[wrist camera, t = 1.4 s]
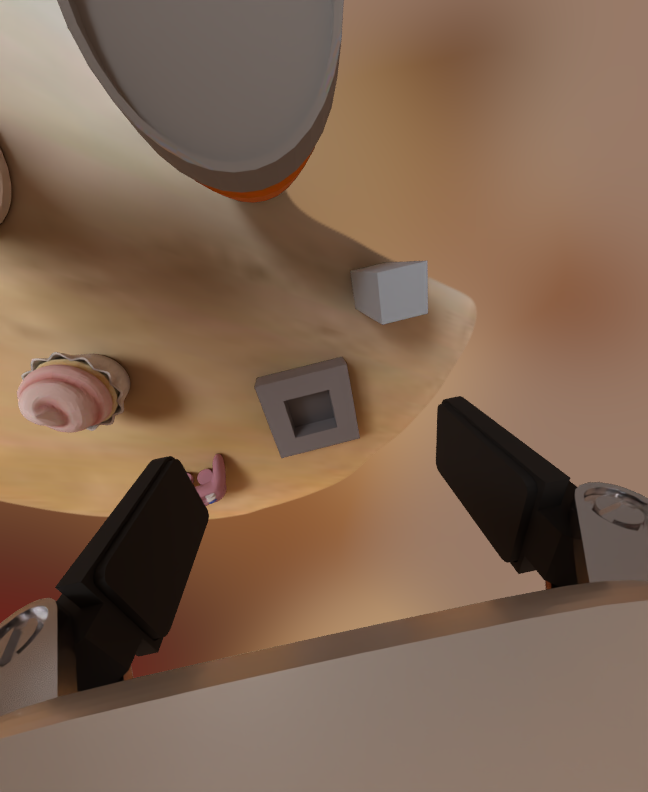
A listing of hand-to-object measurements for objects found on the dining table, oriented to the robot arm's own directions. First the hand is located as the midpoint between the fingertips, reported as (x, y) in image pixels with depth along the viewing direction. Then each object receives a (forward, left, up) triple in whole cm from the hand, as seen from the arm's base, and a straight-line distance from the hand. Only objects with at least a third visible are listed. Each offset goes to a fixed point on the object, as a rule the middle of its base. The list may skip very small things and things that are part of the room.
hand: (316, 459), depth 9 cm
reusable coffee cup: (-17, 0, -26) cm, 31 cm away
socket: (+12, -1, -26) cm, 28 cm away
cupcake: (+1, -25, -26) cm, 36 cm away
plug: (-2, +10, -26) cm, 28 cm away
